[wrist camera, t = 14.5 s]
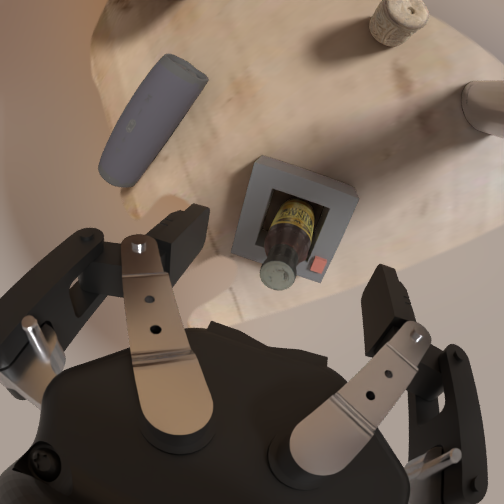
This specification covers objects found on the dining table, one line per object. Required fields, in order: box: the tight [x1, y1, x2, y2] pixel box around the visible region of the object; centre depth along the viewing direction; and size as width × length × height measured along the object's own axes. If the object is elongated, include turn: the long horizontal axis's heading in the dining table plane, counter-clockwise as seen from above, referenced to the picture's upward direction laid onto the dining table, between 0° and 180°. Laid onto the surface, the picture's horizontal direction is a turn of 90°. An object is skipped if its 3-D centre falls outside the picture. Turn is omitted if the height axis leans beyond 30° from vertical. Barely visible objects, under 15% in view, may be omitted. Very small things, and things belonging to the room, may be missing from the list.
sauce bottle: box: [260, 198, 315, 290], centre depth 40 cm, size 6×6×20 cm
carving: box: [369, 0, 429, 47], centre depth 24 cm, size 6×8×12 cm
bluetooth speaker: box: [98, 54, 209, 187], centre depth 40 cm, size 23×9×10 cm, turn 139°
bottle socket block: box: [231, 155, 359, 283], centre depth 45 cm, size 16×16×7 cm
